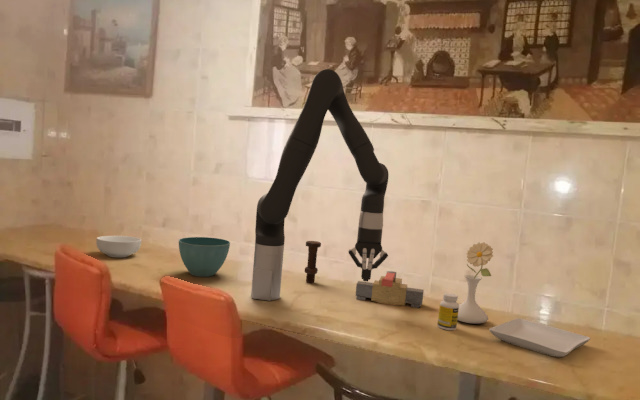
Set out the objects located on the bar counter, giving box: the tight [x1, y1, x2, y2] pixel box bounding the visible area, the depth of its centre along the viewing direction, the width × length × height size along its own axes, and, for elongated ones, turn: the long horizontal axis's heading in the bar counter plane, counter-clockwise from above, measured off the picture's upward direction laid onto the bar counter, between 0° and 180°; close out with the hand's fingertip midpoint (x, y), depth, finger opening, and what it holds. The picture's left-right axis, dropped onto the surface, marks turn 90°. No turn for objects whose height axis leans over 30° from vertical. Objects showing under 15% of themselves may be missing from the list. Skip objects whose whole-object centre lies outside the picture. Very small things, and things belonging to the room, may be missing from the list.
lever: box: [381, 270, 397, 287], centre depth 181 cm, size 16×3×3 cm, turn 167°
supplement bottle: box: [437, 292, 460, 331], centre depth 163 cm, size 5×5×10 cm
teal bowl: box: [178, 236, 231, 278], centre depth 203 cm, size 18×18×12 cm
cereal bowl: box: [95, 235, 142, 259], centre depth 223 cm, size 17×17×7 cm
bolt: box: [304, 240, 322, 284], centre depth 205 cm, size 6×5×15 cm
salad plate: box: [488, 317, 591, 358], centre depth 156 cm, size 21×21×3 cm
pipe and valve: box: [355, 275, 425, 309], centre depth 187 cm, size 7×22×8 cm, turn 77°
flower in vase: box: [457, 242, 494, 325], centre depth 170 cm, size 13×11×25 cm
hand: (365, 280), depth 177 cm, fingers closed
